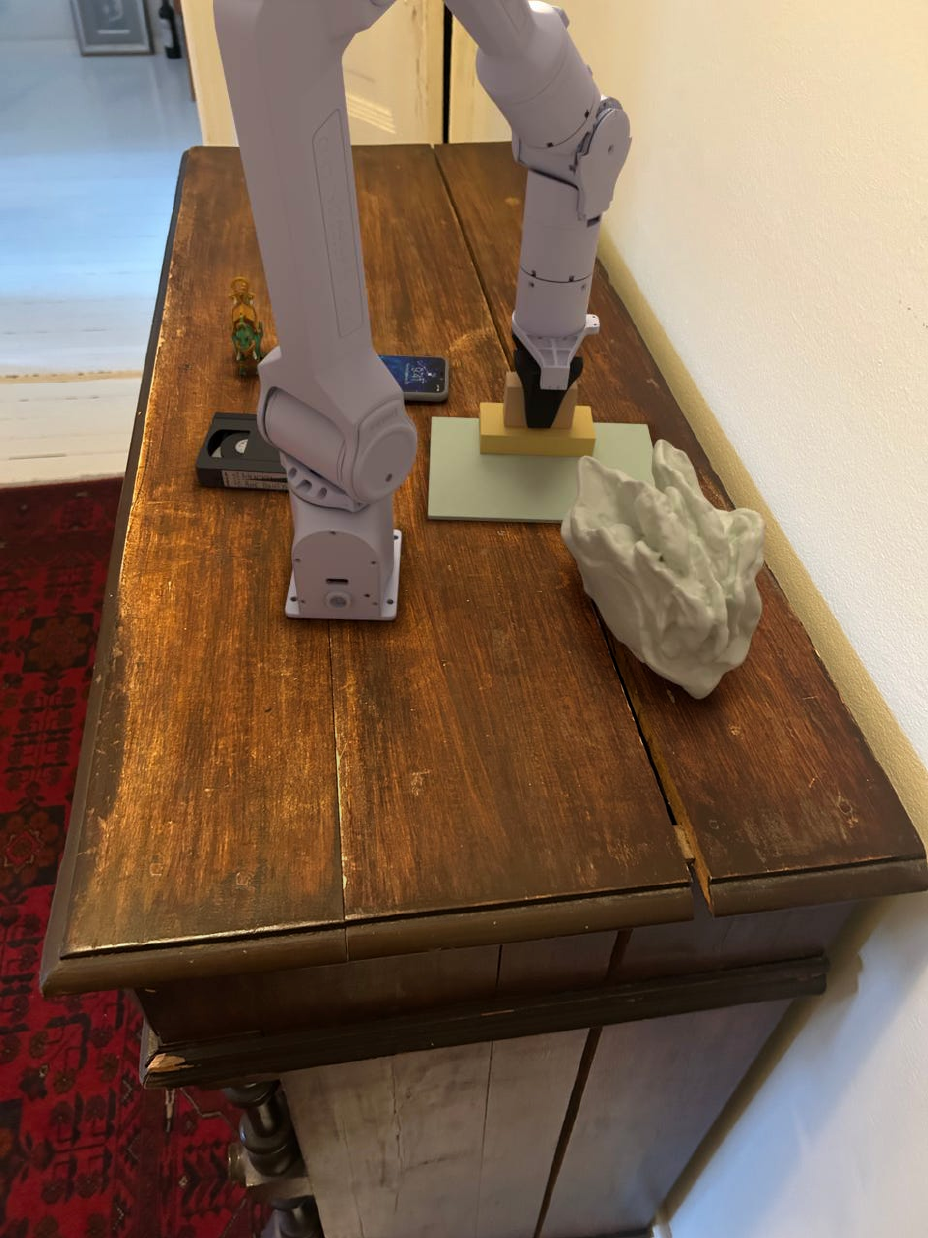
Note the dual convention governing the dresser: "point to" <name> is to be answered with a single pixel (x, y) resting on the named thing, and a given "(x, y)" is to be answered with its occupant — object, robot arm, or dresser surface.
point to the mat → (520, 473)
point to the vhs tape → (239, 456)
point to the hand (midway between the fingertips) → (537, 416)
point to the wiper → (511, 435)
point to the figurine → (245, 325)
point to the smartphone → (419, 376)
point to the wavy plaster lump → (668, 567)
